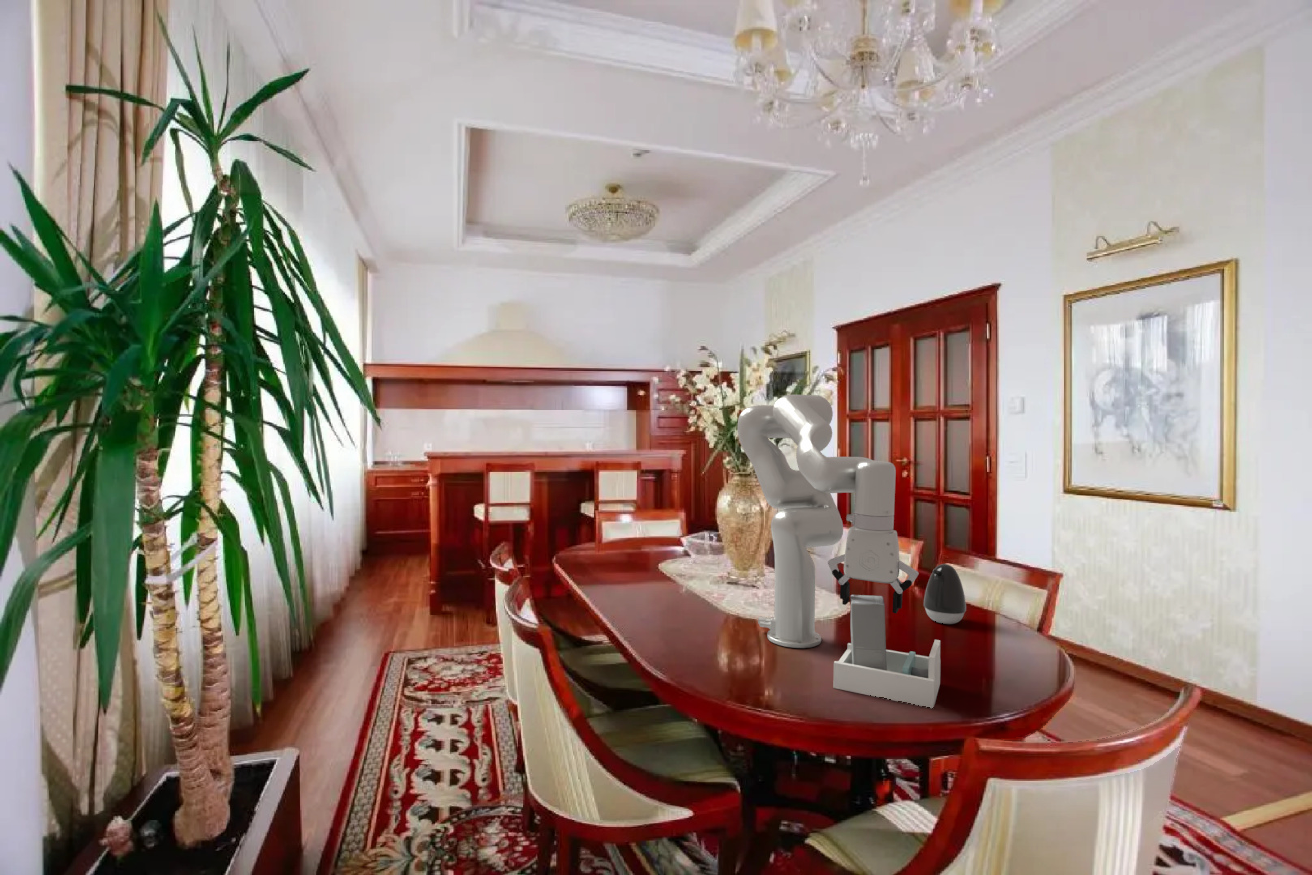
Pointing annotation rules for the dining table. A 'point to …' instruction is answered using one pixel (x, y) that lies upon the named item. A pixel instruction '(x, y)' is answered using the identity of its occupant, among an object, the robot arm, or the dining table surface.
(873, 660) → the skincare box
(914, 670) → the pusher
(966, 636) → the dining table surface
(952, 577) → the dark grey egg shape
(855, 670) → the open box with divider
